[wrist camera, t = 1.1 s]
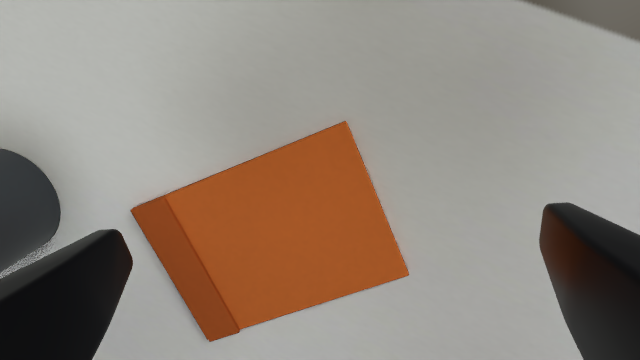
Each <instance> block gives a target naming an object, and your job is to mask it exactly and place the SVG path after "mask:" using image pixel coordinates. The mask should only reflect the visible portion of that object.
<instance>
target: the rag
mask: <svg viewBox="0 0 640 360" xmlns="http://www.w3.org/2000/svg"><path fill="white" fill-rule="evenodd" d="M130 211H131V212H132V214H133V216H134V217H135V219H136V221H137V223H138V224H139V226H140V228H141V229H142V231H143V233H144V234H145V236H146V238H147V239H148V241H149V243H150V244H151V246H152V248H153V249H154V251H155V253H156V254H157V256H158V258H159V259H160V261H161V263H162V264H163V266H164V268H165V269H166V271H167V273H168V274H169V276H170V278H171V279H172V281H173V283H174V284H175V286H176V288H177V290H178V291H179V293H180V295H181V296H182V298H183V300H184V301H185V303H186V305H187V306H188V308H189V310H190V311H191V313H192V315H193V316H194V318H195V320H196V321H197V323H198V325H199V326H200V328H201V330H202V331H203V333H204V335H205V336H206V338H207V340H208V339H209V341H210V342H211V341H214V340H217V339H220V338H223V337H226V336H229V335H233V334H236V333H239V331H240V329H243V328H246V327H249V326H252V325H255V324H258V323H261V322H265V321H268V320H271V319H274V318H277V317H280V316H283V315H286V314H290V313H293V312H296V311H299V310H302V309H305V308H308V307H311V306H314V305H318V304H321V303H324V302H327V301H330V300H333V299H336V298H339V297H343V296H346V295H349V294H352V293H355V292H358V291H361V290H364V289H368V288H371V287H374V286H377V285H380V284H383V283H386V282H389V281H393V280H396V279H399V278H402V277H405V276H408V275H409V273H408V270H407V268H406V265H405V263H404V260H403V258H402V255H401V253H400V251H399V248H398V246H397V243H396V241H395V238H394V236H393V234H392V231H391V229H390V226H389V224H388V221H387V219H386V217H385V214H384V212H383V209H382V207H381V204H380V202H379V200H378V197H377V195H376V192H375V190H374V187H373V185H372V183H371V180H370V178H369V175H368V173H367V170H366V168H365V165H364V163H363V161H362V158H361V156H360V153H359V151H358V148H357V146H356V144H355V141H354V139H353V136H352V134H351V131H350V129H349V127H348V124H347V122H346V121H344V122H342V123H339V124H337V125H335V126H332V127H330V128H327V129H325V130H322V131H320V132H317V133H315V134H313V135H310V136H308V137H305V138H303V139H300V140H298V141H296V142H293V143H291V144H288V145H286V146H283V147H281V148H278V149H276V150H274V151H271V152H269V153H266V154H264V155H261V156H259V157H256V158H254V159H252V160H249V161H247V162H244V163H242V164H239V165H237V166H235V167H232V168H230V169H227V170H225V171H222V172H220V173H217V174H215V175H213V176H210V177H208V178H205V179H203V180H200V181H198V182H195V183H193V184H191V185H188V186H186V187H183V188H181V189H178V190H176V191H174V192H171V193H169V194H166V195H164V196H161V197H159V198H156V199H154V200H152V201H149V202H147V203H144V204H142V205H139V206H137V207H134V208H133V209H131V210H130Z"/></svg>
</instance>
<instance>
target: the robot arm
mask: <svg viewBox="0 0 640 360" xmlns="http://www.w3.org/2000/svg"><path fill="white" fill-rule="evenodd" d="M539 244H540V250H541V253H542V256H543V259H544V262H545V265H546V268H547V271H548V273H549V276H550V279H551V282H552V285H553V288H554V291H555V294H556V297H557V300H558V302H559V305H560V308H561V311H562V314H563V316H564V319H565V321H566V324H567V326H568V328H569V330H570V332H571V335H572V337H573V339H574V341H575V343H576V345H577V347H578V349H579V351H580V353H581V355H582V357H583V359H584V360H640V235H638V234H636V233H634V232H632V231H630V230H627V229H625V228H623V227H621V226H619V225H617V224H614V223H612V222H610V221H608V220H606V219H604V218H602V217H599V216H597V215H595V214H593V213H591V212H589V211H587V210H584V209H582V208H580V207H578V206H576V205H574V204H571V203H552V204H547V205H546V206H545V208H544V210H543V216H542V223H541V231H540V239H539ZM132 266H133V260H132V256H131V254H130V251H129V249H128V247H127V245H126V243H125V241H124V238H123V236H122V234H121V233H120V232H119V231H118V230H116V229H109V230H99V231H96V232H94V233H92V234H90V235H88V236H86V237H84V238H82V239H80V240H78V241H76V242H74V243H72V244H70V245H68V246H66V247H64V248H62V249H60V250H58V251H56V252H54V253H52V254H50V255H48V256H46V257H44V258H42V259H40V260H38V261H36V262H34V263H32V264H30V265H28V266H26V267H24V268H22V269H20V270H18V271H16V272H14V273H12V274H9V275H7V276H5V277H3V278H1V279H0V360H92V359H93V357H94V355H95V353H96V351H97V349H98V347H99V345H100V343H101V341H102V339H103V337H104V335H105V333H106V331H107V329H108V327H109V324H110V322H111V320H112V317H113V315H114V312H115V310H116V307H117V305H118V302H119V300H120V297H121V295H122V292H123V290H124V287H125V285H126V282H127V280H128V277H129V275H130V272H131V270H132Z"/></svg>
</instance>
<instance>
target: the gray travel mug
mask: <svg viewBox="0 0 640 360" xmlns="http://www.w3.org/2000/svg"><path fill="white" fill-rule="evenodd" d="M59 220H60V205H59V200H58V197H57V194H56V192H55V190H54V188H53V186H52V184H51V182H50V181H49V179H48V178H47V177H46V175H45V174H44V173H43V172H42V171H41V170H40V169H39V168H38V167H37V166H36V165H35V164H33V163H32V162H31V161H29V160H28V159H26V158H25V157H23V156H21V155H19V154H17V153H14V152H11V151H8V150H4V149H0V272H2V271H3V270H5V269H7V268H8V267H10V266H11V265H13V264H14V263H16V262H17V261H19V260H20V259H22V258H24V257H25V256H27V255H28V254H30V253H31V252H33V251H34V250H36V249H37V248H39V247H41V246H42V245H44V244H45V243H46V242H48V241H49V240H50V239H51V238H52V236H53V235H54V233H55V232H56V230H57V227H58V225H59Z"/></svg>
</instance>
